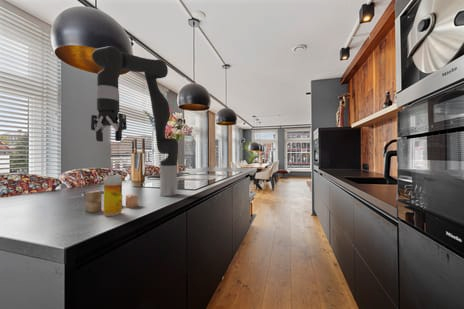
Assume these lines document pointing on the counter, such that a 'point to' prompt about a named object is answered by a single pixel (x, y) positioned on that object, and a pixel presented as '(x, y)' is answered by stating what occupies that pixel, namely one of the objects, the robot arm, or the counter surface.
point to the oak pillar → (93, 201)
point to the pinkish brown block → (131, 201)
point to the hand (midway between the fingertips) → (108, 141)
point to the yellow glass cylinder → (112, 195)
